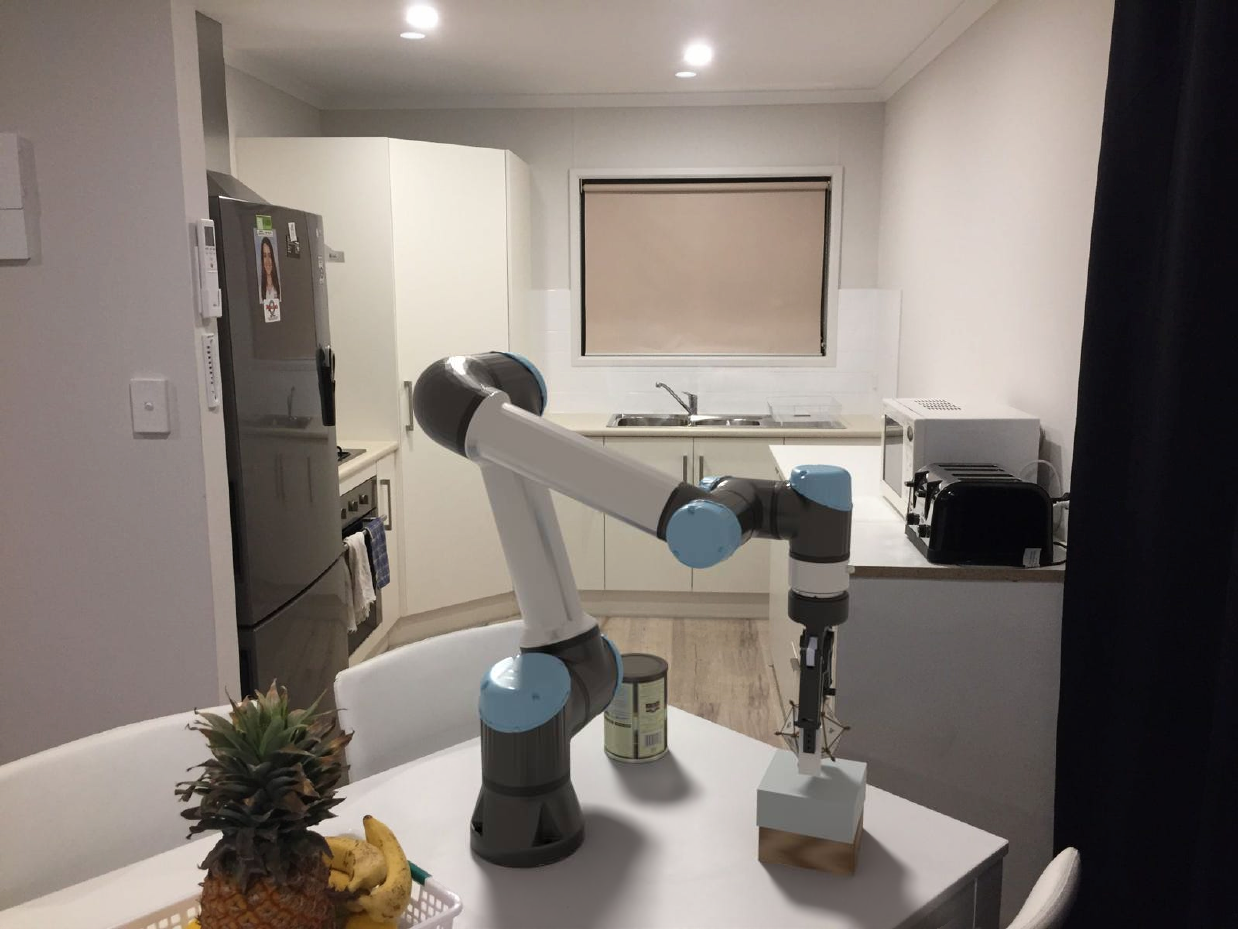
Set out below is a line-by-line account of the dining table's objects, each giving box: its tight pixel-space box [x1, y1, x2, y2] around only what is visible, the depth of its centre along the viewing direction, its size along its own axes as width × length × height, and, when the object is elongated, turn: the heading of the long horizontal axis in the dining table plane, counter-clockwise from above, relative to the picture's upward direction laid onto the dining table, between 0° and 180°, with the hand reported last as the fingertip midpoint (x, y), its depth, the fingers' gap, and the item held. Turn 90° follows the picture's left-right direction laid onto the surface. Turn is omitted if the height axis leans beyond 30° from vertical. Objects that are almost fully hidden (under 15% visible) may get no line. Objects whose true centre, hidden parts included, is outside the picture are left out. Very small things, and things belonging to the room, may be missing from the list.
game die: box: [773, 695, 852, 763], centre depth 128 cm, size 9×8×10 cm
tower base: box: [757, 804, 865, 878], centre depth 130 cm, size 12×12×5 cm
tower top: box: [755, 748, 868, 844], centre depth 129 cm, size 12×12×5 cm
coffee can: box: [603, 652, 669, 764], centre depth 157 cm, size 10×10×14 cm
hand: (813, 758), depth 129 cm, fingers closed on game die, 8 cm apart
